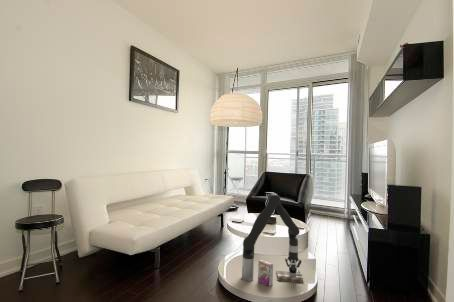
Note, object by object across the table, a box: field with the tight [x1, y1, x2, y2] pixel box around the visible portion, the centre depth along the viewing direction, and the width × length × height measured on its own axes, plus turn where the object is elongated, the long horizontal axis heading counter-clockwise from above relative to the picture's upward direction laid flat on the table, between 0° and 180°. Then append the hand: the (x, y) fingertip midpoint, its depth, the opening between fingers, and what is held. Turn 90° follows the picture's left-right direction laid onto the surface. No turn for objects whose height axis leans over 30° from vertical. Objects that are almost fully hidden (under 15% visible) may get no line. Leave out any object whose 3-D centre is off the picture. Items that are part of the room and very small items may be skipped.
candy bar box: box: [257, 259, 274, 287], centre depth 187 cm, size 11×5×16 cm, turn 44°
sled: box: [288, 263, 296, 277], centre depth 198 cm, size 5×12×11 cm, turn 174°
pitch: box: [275, 269, 305, 284], centre depth 199 cm, size 20×16×4 cm
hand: (292, 271), depth 194 cm, fingers closed on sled, 3 cm apart
